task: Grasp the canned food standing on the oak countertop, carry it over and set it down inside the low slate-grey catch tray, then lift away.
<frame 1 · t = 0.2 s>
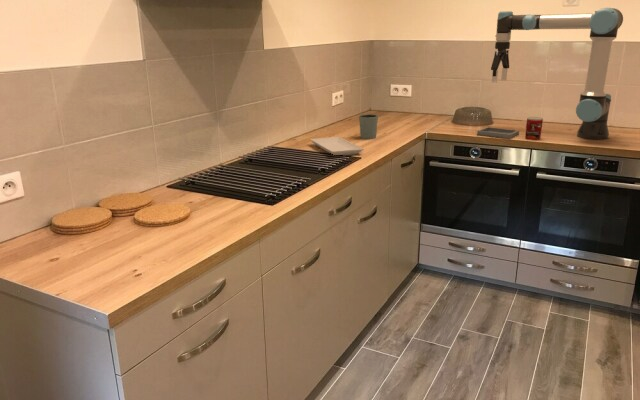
hand: (499, 81, 291), 28 cm above the worktop, fingers open, 13 cm apart
tray: (335, 150, 260), on the worktop
canned food: (532, 139, 279), on the worktop
catch tray: (497, 135, 288), on the worktop
grey green cup: (368, 138, 286), on the worktop
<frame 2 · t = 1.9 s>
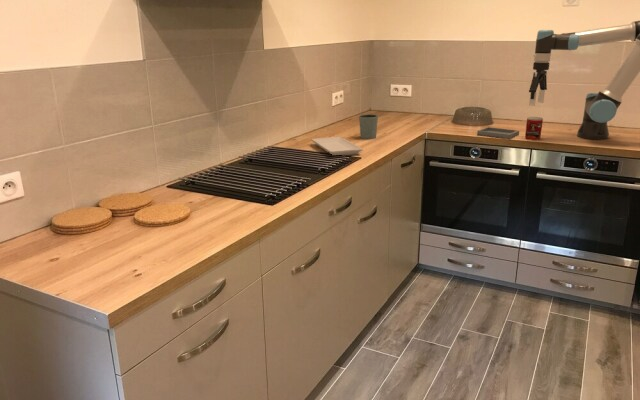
hand: (536, 104, 273), 18 cm above the worktop, fingers open, 13 cm apart
nothing on the worktop moved.
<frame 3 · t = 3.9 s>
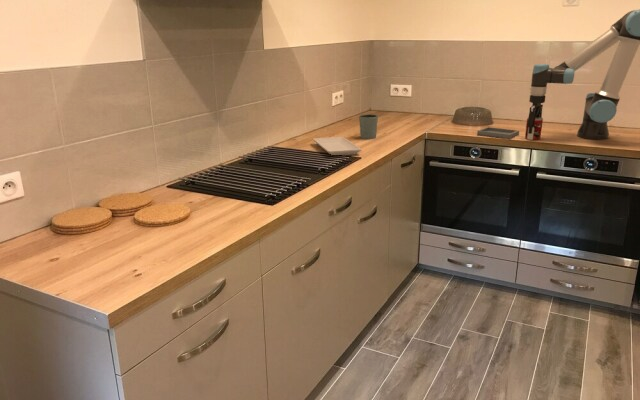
hand: (532, 138, 279), 0 cm above the worktop, fingers closed on canned food, 8 cm apart
canned food: (532, 138, 279), on the worktop, touching gripper
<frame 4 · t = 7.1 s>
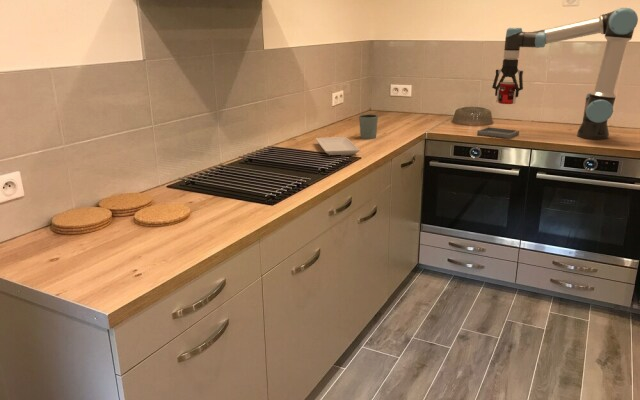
hand: (505, 102, 281), 18 cm above the worktop, fingers closed on canned food, 8 cm apart
canned food: (505, 103, 281), point 17 cm above the worktop, touching gripper
when the fingers open (3 cm above the worktop, at t = 10.5 s): canned food drops 2 cm, resting on catch tray.
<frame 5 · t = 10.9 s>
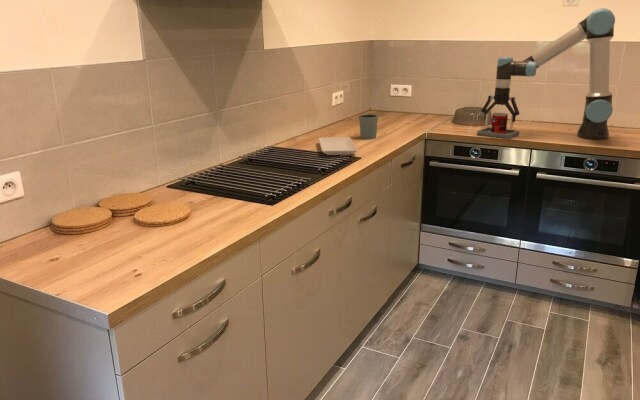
hand: (498, 126, 286), 5 cm above the worktop, fingers open, 13 cm apart
canned food: (498, 134, 288), point 1 cm above the worktop, touching catch tray
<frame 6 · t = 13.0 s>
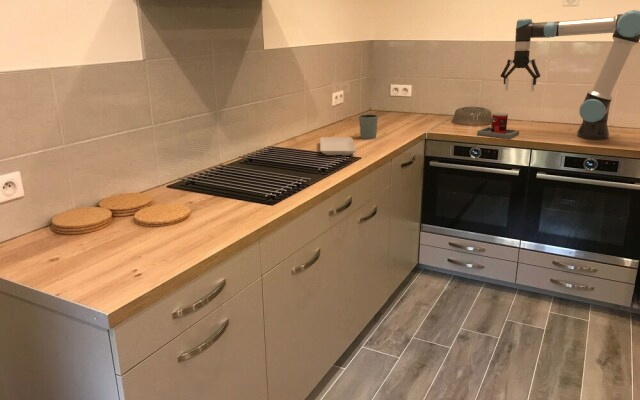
hand: (519, 90, 283), 24 cm above the worktop, fingers open, 13 cm apart
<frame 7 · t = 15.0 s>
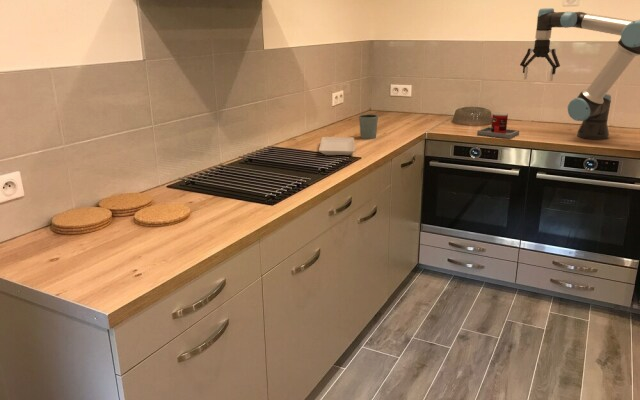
hand: (537, 80, 286), 29 cm above the worktop, fingers open, 13 cm apart
at the end: canned food inside the target area on the catch tray (0.1 cm from its centre), point 0.6 cm above the catch tray's base; canned food tilted 0°; the gripper is holding nothing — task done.
